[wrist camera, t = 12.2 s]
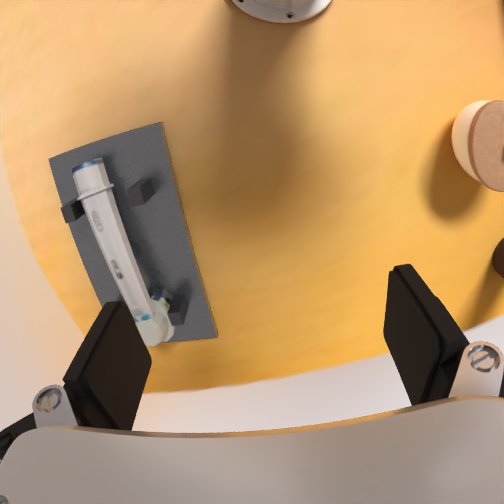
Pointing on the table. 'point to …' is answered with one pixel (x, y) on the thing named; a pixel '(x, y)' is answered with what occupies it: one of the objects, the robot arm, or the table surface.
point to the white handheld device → (120, 252)
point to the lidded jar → (481, 142)
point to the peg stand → (140, 225)
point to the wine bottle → (499, 259)
